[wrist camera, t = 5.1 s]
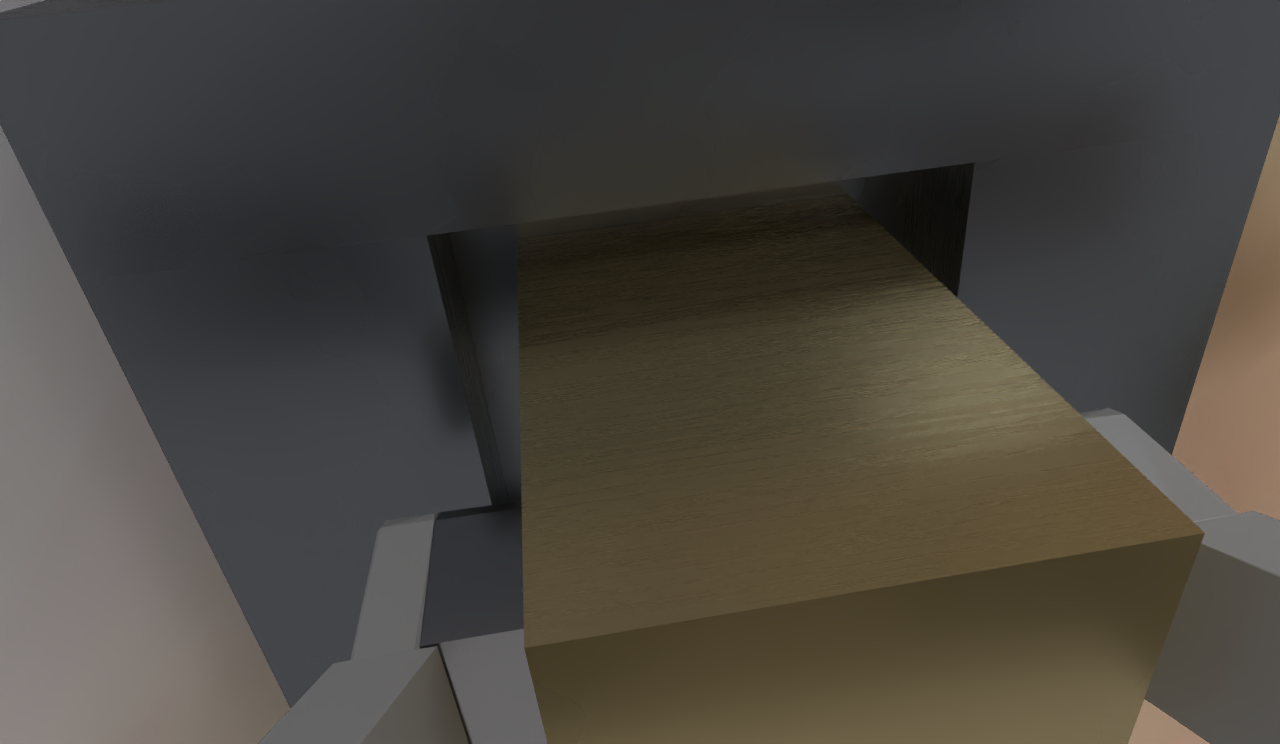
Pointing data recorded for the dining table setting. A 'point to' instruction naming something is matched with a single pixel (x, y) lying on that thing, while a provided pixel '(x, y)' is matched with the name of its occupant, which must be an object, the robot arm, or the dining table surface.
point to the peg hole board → (588, 213)
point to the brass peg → (816, 501)
